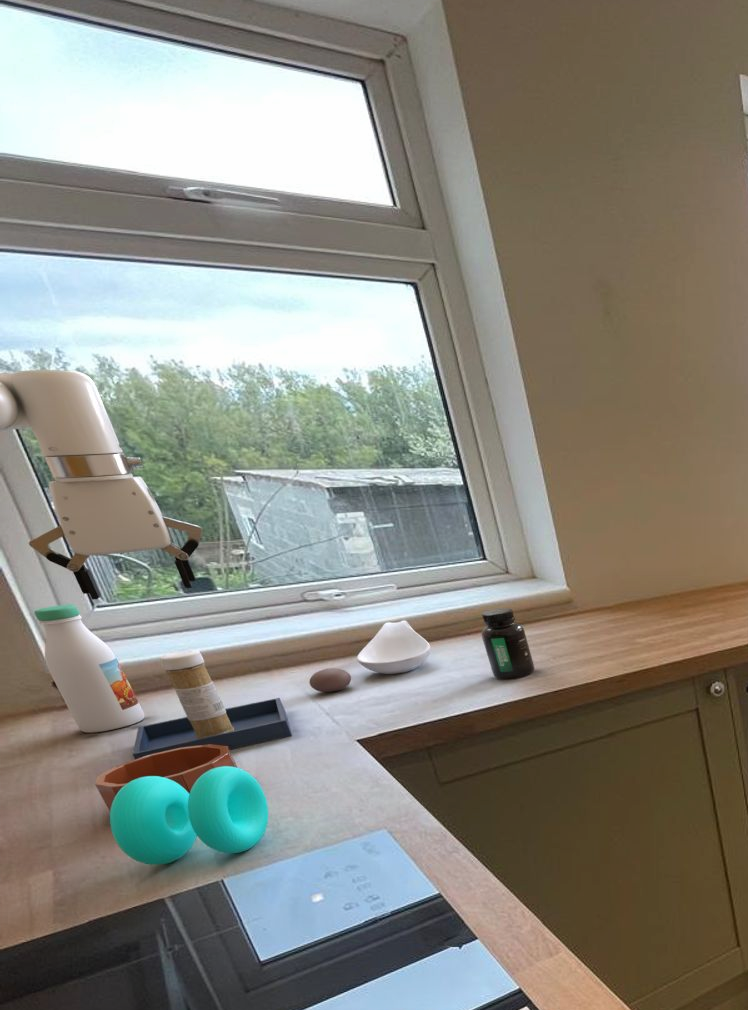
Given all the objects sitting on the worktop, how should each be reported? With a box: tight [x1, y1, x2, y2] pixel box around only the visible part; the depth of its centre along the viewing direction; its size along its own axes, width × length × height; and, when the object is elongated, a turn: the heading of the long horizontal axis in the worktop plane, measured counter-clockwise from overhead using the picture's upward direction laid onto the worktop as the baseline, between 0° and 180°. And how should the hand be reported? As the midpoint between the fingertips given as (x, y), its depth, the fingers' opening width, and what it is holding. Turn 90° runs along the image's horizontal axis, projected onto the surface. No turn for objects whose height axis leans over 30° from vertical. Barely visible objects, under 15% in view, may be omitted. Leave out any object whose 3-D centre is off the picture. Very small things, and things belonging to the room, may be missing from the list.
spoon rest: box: [356, 619, 431, 675], centre depth 161 cm, size 24×12×7 cm, turn 31°
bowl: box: [95, 744, 239, 812], centre depth 106 cm, size 13×13×5 cm
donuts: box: [109, 766, 269, 866], centre depth 92 cm, size 10×10×10 cm
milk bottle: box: [34, 604, 145, 733], centre depth 131 cm, size 8×8×20 cm
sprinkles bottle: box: [158, 649, 234, 739], centre depth 124 cm, size 5×5×13 cm
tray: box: [132, 697, 293, 760], centre depth 127 cm, size 17×15×3 cm
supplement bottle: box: [481, 608, 535, 680], centre depth 150 cm, size 7×7×12 cm
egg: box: [308, 667, 352, 693], centre depth 146 cm, size 6×6×4 cm
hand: (144, 592), depth 118 cm, fingers open, 9 cm apart
